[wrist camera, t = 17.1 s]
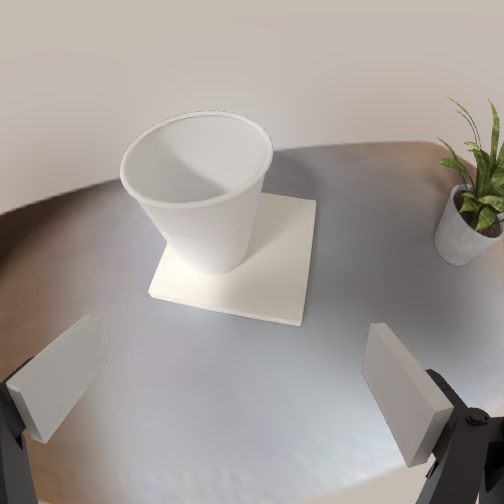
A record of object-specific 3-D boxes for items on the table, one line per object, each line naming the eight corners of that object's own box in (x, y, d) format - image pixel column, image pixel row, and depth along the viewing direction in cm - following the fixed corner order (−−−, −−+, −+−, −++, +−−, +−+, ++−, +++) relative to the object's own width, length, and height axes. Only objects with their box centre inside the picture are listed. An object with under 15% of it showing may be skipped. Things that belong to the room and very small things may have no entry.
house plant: (384, 182, 34) (424, 58, 20) (473, 199, 32) (526, 102, 19) (401, 290, 26) (495, 153, 12) (503, 296, 25) (596, 200, 11)
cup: (166, 209, 30) (137, 118, 21) (264, 203, 30) (266, 106, 21) (154, 299, 25) (101, 214, 16) (273, 295, 25) (282, 202, 16)
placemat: (151, 296, 26) (148, 291, 25) (195, 190, 33) (193, 184, 32) (300, 326, 24) (301, 322, 24) (315, 207, 31) (316, 200, 31)
